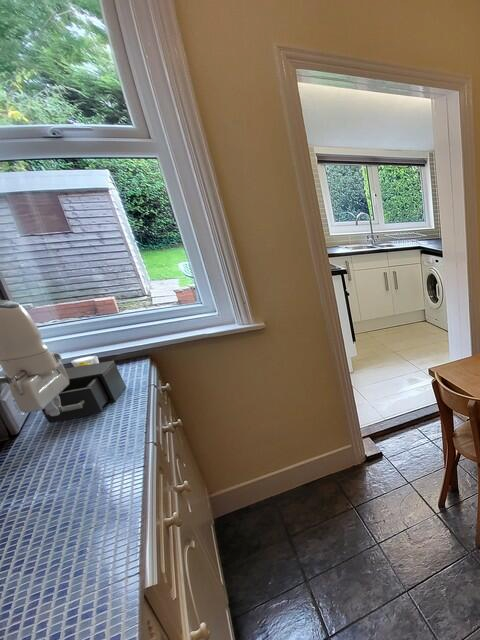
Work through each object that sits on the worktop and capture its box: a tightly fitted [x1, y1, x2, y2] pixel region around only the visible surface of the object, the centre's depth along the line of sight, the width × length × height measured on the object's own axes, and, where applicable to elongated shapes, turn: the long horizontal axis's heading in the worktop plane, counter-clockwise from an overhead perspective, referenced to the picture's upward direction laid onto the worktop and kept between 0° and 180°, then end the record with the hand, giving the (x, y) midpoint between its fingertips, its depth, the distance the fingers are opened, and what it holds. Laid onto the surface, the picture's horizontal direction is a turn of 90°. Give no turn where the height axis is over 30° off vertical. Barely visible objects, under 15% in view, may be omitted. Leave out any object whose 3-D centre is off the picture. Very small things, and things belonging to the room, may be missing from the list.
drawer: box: [41, 376, 110, 424], centre depth 119 cm, size 17×11×8 cm
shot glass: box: [70, 355, 100, 367], centre depth 148 cm, size 7×7×7 cm
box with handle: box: [64, 360, 127, 405], centre depth 129 cm, size 14×13×10 cm
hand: (57, 413), depth 109 cm, fingers closed
